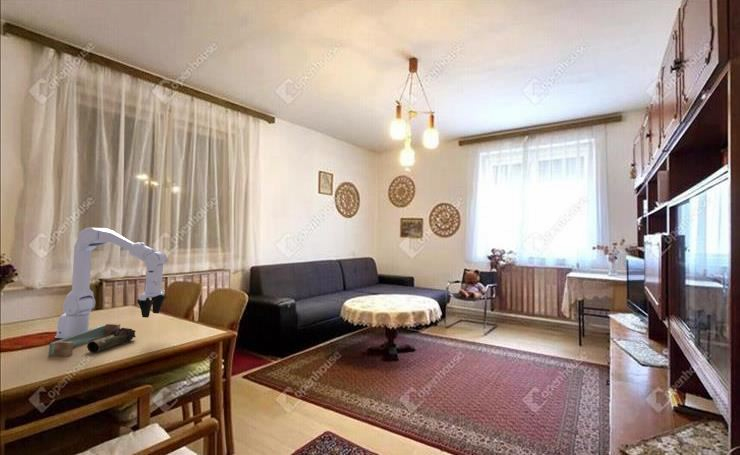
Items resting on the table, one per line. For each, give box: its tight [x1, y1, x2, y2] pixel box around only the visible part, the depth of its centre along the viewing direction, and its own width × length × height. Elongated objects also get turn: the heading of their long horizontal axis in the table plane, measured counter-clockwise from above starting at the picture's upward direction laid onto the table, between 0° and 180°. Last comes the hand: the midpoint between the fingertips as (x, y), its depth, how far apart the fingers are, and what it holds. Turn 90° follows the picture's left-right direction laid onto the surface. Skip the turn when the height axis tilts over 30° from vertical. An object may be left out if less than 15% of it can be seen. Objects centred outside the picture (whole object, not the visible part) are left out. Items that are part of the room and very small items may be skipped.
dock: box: [48, 322, 121, 357], centre depth 135 cm, size 6×27×4 cm, turn 3°
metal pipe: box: [86, 327, 137, 354], centre depth 136 cm, size 18×7×6 cm, turn 171°
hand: (150, 315), depth 145 cm, fingers open, 7 cm apart
